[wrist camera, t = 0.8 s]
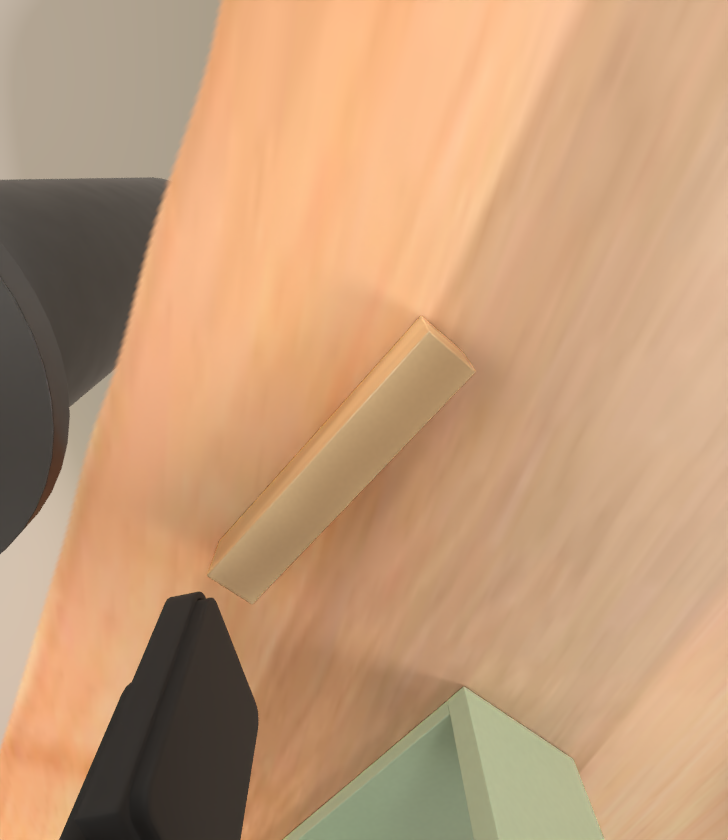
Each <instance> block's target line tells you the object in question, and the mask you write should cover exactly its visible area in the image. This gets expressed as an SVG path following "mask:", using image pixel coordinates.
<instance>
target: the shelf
mask: <svg viewBox="0 0 728 840" xmlns="http://www.w3.org/2000/svg"><path fill="white" fill-rule="evenodd" d="M283 840H604V837H603V834H602V832H601V829H600V827H599V824H598V822H597V819H596V816H595V814H594V811H593V809H592V806H591V804H590V801H589V798H588V796H587V793H586V791H585V788H584V785H583V783H582V780H581V778H580V775H579V773H578V770H577V767H576V765H575V762H574V760H573V759H572V758H571V757H569V756H568V755H566V754H565V753H563V752H562V751H560V750H559V749H557V748H556V747H554V746H553V745H551V744H550V743H548V742H547V741H545V740H544V739H542V738H541V737H539V736H538V735H536V734H535V733H533V732H532V731H530V730H529V729H527V728H526V727H524V726H523V725H521V724H520V723H518V722H517V721H515V720H514V719H512V718H511V717H509V716H508V715H506V714H505V713H503V712H502V711H500V710H499V709H497V708H496V707H494V706H493V705H491V704H490V703H488V702H487V701H485V700H484V699H482V698H481V697H479V696H478V695H476V694H475V693H473V692H472V691H470V690H469V689H467V688H466V687H463V688H461V689H460V690H459V691H458V692H457V693H455V694H454V695H453V696H452V697H451V698H450V699H448V701H446V702H445V703H444V704H443V705H441V706H440V707H439V708H438V709H437V710H436V711H434V712H433V713H432V714H431V715H430V716H428V717H427V718H426V719H425V720H424V721H422V722H421V723H420V724H419V725H418V726H417V727H415V728H414V729H413V730H412V731H411V732H409V733H408V734H407V735H406V736H405V737H404V738H402V739H401V740H400V741H399V742H398V743H396V744H395V745H394V746H393V747H392V748H390V749H389V750H388V751H387V752H386V753H385V754H383V755H382V756H381V757H380V758H379V759H377V760H376V761H375V762H374V763H373V764H372V765H370V766H369V767H368V768H367V769H366V770H364V771H363V772H362V773H361V774H360V775H358V776H357V777H356V778H355V779H354V780H353V781H351V782H350V783H349V784H348V785H347V786H345V787H344V788H343V789H342V790H341V791H340V792H338V793H337V794H336V795H335V796H334V797H332V798H331V799H330V800H329V801H328V802H326V803H325V804H324V805H323V806H322V807H321V808H319V809H318V810H317V811H316V812H315V813H313V814H312V815H311V816H310V817H309V818H308V819H306V820H305V821H304V822H303V823H302V824H300V825H299V826H298V827H297V828H296V829H294V830H293V831H292V832H291V833H290V834H289V835H287V836H286V837H285V838H284V839H283Z"/></svg>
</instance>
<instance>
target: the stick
mask: <svg viewBox="0 0 728 840" xmlns="http://www.w3.org/2000/svg"><path fill="white" fill-rule="evenodd" d="M475 372H476V371H475V369H474V368H473V366H472V365H471V363H470V362H469V360H468V359H467V357H466V355H465V354H464V352H463V351H462V350H460V349H459V348H458V347H457V346H456V345H455V344H454V343H452V342H451V341H450V340H449V339H448V338H447V337H446V336H444V335H443V334H442V333H441V332H440V331H439V330H437V329H436V328H435V327H434V326H433V325H432V324H431V323H429V322H428V321H427V320H426V319H425V318H424V317H423V316H420V317H419V318H418V319H417V320H416V322H415V323H414V324H413V325H412V326H411V327H410V328H409V329H408V330H407V332H406V333H405V334H404V335H403V336H402V337H401V338H400V339H399V341H398V342H397V343H396V344H395V345H394V346H393V347H392V348H391V349H390V351H389V352H388V353H387V354H386V355H385V356H384V357H383V358H382V360H381V361H380V362H379V363H378V364H377V365H376V366H375V367H374V368H373V370H372V371H371V372H370V373H369V374H368V375H367V376H366V377H365V379H364V380H363V381H362V382H361V383H360V384H359V385H358V386H357V387H356V389H355V390H354V391H353V392H352V393H351V394H350V395H349V396H348V398H347V399H346V400H345V401H344V402H343V403H342V404H341V405H340V406H339V408H338V409H337V410H336V411H335V412H334V413H333V414H332V415H331V416H330V418H329V419H328V420H327V421H326V422H325V423H324V424H323V425H322V427H321V428H320V429H319V430H318V431H317V432H316V433H315V434H314V435H313V437H312V438H311V439H310V440H309V441H308V442H307V443H306V444H305V446H304V447H303V448H302V449H301V450H300V451H299V452H298V453H297V454H296V456H295V457H294V458H293V459H292V460H291V461H290V462H289V463H288V465H287V466H286V467H285V468H284V469H283V470H282V471H281V472H280V473H279V475H278V476H277V477H276V478H275V479H274V480H273V481H272V482H271V484H270V485H269V486H268V487H267V488H266V489H265V490H264V491H263V492H262V494H261V495H260V496H259V497H258V498H257V499H256V500H255V501H254V503H253V504H252V505H251V506H250V507H249V508H248V509H247V510H246V511H245V513H244V514H243V515H242V516H241V517H240V518H239V519H238V520H237V522H236V523H235V524H234V525H233V526H232V527H231V528H230V529H229V530H228V532H227V533H226V534H225V535H224V536H223V537H222V538H221V539H220V541H219V542H218V545H217V548H216V551H215V554H214V557H213V559H212V562H211V565H210V568H209V571H208V574H207V576H208V577H209V578H211V579H212V580H214V581H216V582H217V583H219V584H220V585H222V586H224V587H225V588H227V589H228V590H230V591H231V592H233V593H235V594H236V595H238V596H239V597H241V598H242V599H244V600H246V601H247V602H249V603H250V604H254V603H255V602H256V600H257V599H258V598H259V597H260V596H261V595H262V594H263V593H264V592H265V591H266V590H267V589H268V588H269V587H270V586H271V585H272V584H273V583H274V582H275V581H276V580H277V579H278V578H279V577H280V575H281V574H282V573H283V572H284V571H285V570H286V569H287V568H288V567H289V566H290V565H291V564H292V563H293V562H294V561H295V560H296V559H297V558H298V557H299V556H300V555H301V554H302V553H303V552H304V550H305V549H306V548H307V547H308V546H309V545H310V544H311V543H312V542H313V541H314V540H315V539H316V538H317V537H318V536H319V535H320V534H321V533H322V532H323V531H324V530H325V529H326V528H327V527H328V526H329V524H330V523H331V522H332V521H333V520H334V519H335V518H336V517H337V516H338V515H339V514H340V513H341V512H342V511H343V510H344V509H345V508H346V507H347V506H348V505H349V504H350V503H351V502H352V501H353V499H354V498H355V497H356V496H357V495H358V494H359V493H360V492H361V491H362V490H363V489H364V488H365V487H366V486H367V485H368V484H369V483H370V482H371V481H372V480H373V479H374V478H375V477H376V476H377V475H378V473H379V472H380V471H381V470H382V469H383V468H384V467H385V466H386V465H387V464H388V463H389V462H390V461H391V460H392V459H393V458H394V457H395V456H396V455H397V454H398V453H399V452H400V451H401V450H402V448H403V447H404V446H405V445H406V444H407V443H408V442H409V441H410V440H411V439H412V438H413V437H414V436H415V435H416V434H417V433H418V432H419V431H420V430H421V429H422V428H423V427H424V426H425V425H426V423H427V422H428V421H429V420H430V419H431V418H432V417H433V416H434V415H435V414H436V413H437V412H438V411H439V410H440V409H441V408H442V407H443V406H444V405H445V404H446V403H447V402H448V401H449V400H450V399H451V397H452V396H453V395H454V394H455V393H456V392H457V391H458V390H459V389H460V388H461V387H462V386H463V385H464V384H465V383H466V382H467V381H468V380H469V379H470V378H471V377H472V376H473V375H474V374H475Z"/></svg>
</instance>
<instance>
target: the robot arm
mask: <svg viewBox="0 0 728 840" xmlns="http://www.w3.org/2000/svg"><path fill="white" fill-rule="evenodd" d="M257 731H258V710H257V706H256V703H255V700H254V697H253V695H252V692H251V690H250V687H249V685H248V682H247V680H246V677H245V674H244V672H243V669H242V667H241V664H240V662H239V659H238V656H237V654H236V651H235V649H234V646H233V644H232V641H231V639H230V636H229V633H228V631H227V628H226V626H225V623H224V621H223V618H222V615H221V613H220V610H219V608H218V605H217V603H216V601H215V600H214V598H207V599H206V597H205V596H204V594H203V593H202V592H195V593H190V594H185V595H180V596H175V597H170V598H169V599H167V601H166V603H165V605H164V607H163V609H162V612H161V614H160V617H159V619H158V621H157V624H156V626H155V628H154V631H153V633H152V636H151V638H150V640H149V643H148V645H147V647H146V650H145V652H144V655H143V657H142V659H141V662H140V664H139V666H138V669H137V671H136V674H135V676H134V678H133V681H132V682H131V683H130V684H129V685H128V686H126V688H125V690H124V691H123V693H122V695H121V697H120V700H119V702H118V704H117V707H116V709H115V711H114V714H113V716H112V718H111V721H110V723H109V725H108V728H107V730H106V732H105V734H104V737H103V739H102V741H101V744H100V746H99V748H98V751H97V753H96V755H95V758H94V760H93V762H92V765H91V767H90V769H89V772H88V774H87V776H86V779H85V781H84V783H83V786H82V788H81V790H80V793H79V795H78V797H77V800H76V802H75V804H74V807H73V809H72V811H71V814H70V816H69V818H68V821H67V823H66V825H65V827H64V830H63V832H62V834H61V837H60V839H59V840H240V839H241V832H242V826H243V820H244V813H245V807H246V801H247V794H248V788H249V782H250V775H251V769H252V763H253V756H254V750H255V744H256V737H257Z"/></svg>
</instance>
